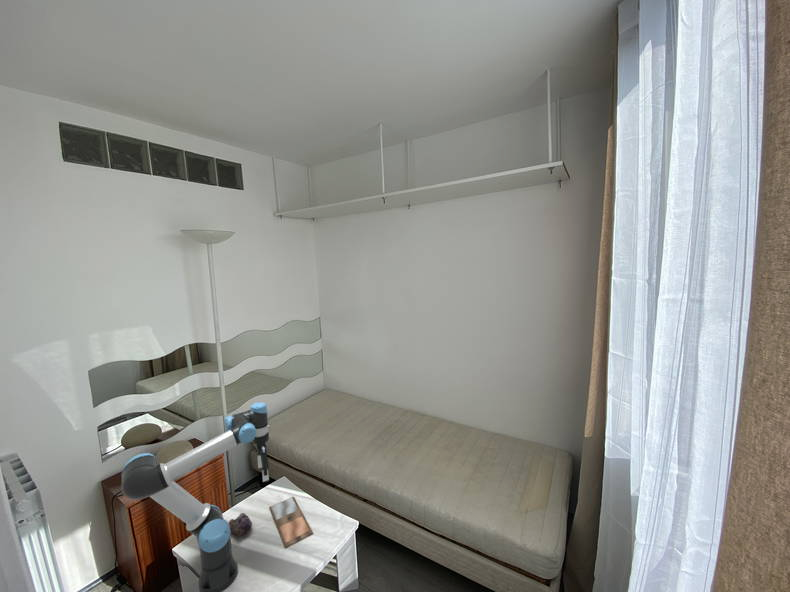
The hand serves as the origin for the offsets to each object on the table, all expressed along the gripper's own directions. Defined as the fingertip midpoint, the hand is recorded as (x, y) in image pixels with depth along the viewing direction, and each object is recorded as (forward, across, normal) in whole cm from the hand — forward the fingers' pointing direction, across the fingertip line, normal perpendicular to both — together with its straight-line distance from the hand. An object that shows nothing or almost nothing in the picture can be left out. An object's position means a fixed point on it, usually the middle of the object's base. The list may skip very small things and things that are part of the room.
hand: (263, 473), depth 165 cm
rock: (+22, +5, +15) cm, 27 cm away
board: (+30, -1, -11) cm, 32 cm away
